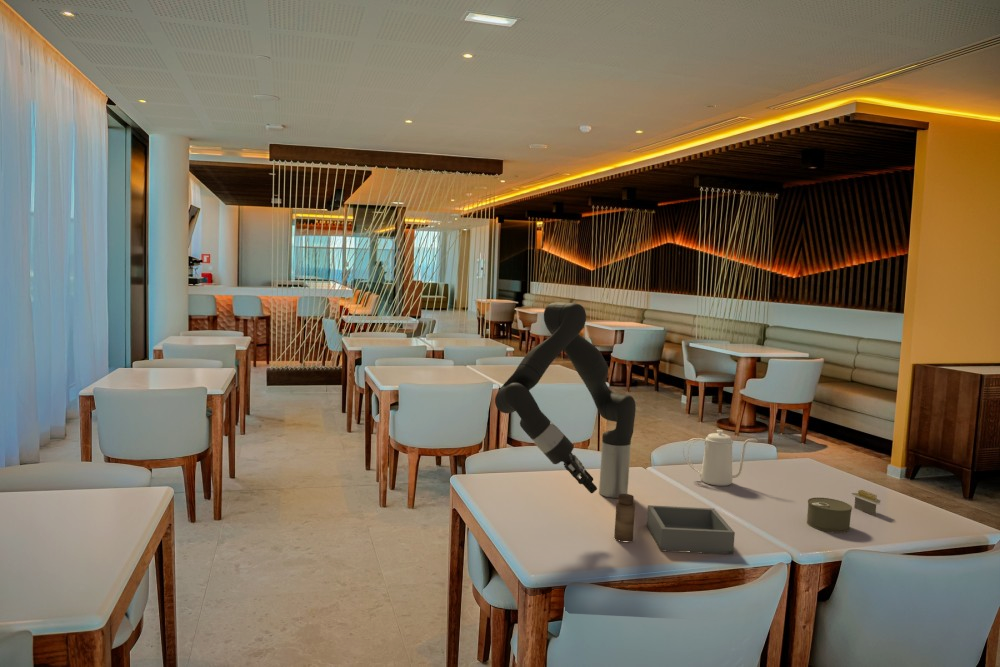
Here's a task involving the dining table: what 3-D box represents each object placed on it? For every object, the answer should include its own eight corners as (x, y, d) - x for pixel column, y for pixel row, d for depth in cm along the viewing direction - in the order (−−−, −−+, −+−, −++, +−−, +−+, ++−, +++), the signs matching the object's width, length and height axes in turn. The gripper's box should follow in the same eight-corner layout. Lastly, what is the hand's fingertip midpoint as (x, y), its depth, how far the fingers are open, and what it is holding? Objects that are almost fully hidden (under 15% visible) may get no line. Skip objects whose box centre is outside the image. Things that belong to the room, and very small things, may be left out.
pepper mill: (613, 535, 199) (615, 492, 198) (631, 536, 199) (633, 493, 198) (615, 541, 194) (618, 498, 193) (634, 542, 194) (637, 499, 193)
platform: (857, 502, 241) (859, 483, 240) (904, 521, 224) (906, 500, 224) (830, 505, 237) (831, 486, 236) (876, 524, 220) (878, 503, 219)
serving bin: (646, 525, 208) (647, 505, 208) (712, 528, 208) (714, 508, 207) (660, 551, 189) (662, 528, 189) (733, 554, 189) (734, 532, 188)
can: (859, 533, 210) (861, 510, 210) (821, 533, 208) (823, 510, 208) (833, 519, 222) (835, 497, 221) (797, 519, 220) (799, 497, 219)
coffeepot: (754, 491, 247) (759, 437, 245) (680, 481, 255) (683, 429, 253) (754, 483, 257) (758, 431, 256) (682, 473, 265) (686, 423, 264)
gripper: (565, 439, 187) (606, 485, 188) (561, 427, 201) (599, 469, 202) (543, 458, 188) (585, 503, 189) (541, 445, 202) (579, 487, 203)
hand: (592, 486), depth 196 cm, fingers open, 8 cm apart
